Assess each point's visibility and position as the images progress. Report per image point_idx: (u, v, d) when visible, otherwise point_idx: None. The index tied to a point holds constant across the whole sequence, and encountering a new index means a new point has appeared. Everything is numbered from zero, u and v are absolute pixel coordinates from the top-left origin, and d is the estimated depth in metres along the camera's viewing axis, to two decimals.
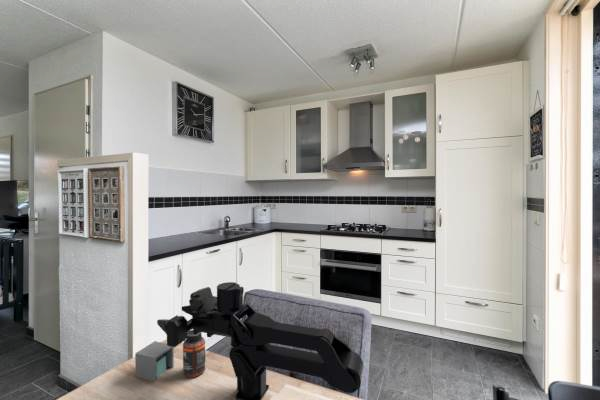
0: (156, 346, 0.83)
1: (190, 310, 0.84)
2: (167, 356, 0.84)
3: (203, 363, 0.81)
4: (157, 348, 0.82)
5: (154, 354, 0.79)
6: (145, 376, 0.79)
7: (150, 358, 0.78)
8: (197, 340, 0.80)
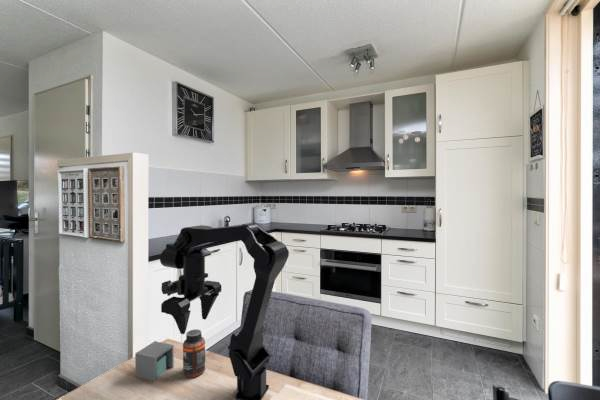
0: (156, 346, 0.83)
1: (204, 309, 0.86)
2: (167, 356, 0.84)
3: (203, 363, 0.81)
4: (157, 348, 0.82)
5: (154, 354, 0.79)
6: (145, 376, 0.79)
7: (150, 358, 0.78)
8: (197, 340, 0.80)
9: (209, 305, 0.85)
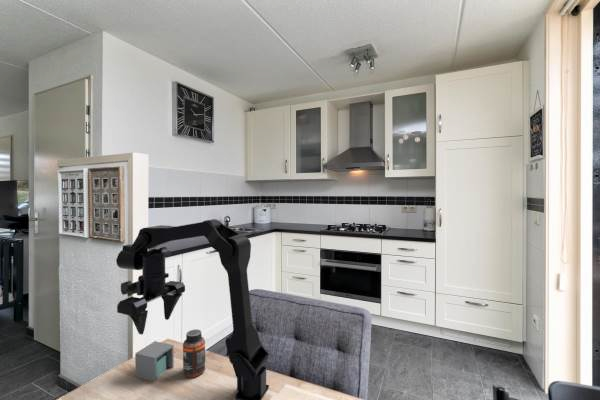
0: (156, 346, 0.83)
1: (167, 309, 0.86)
2: (167, 356, 0.84)
3: (203, 363, 0.81)
4: (157, 348, 0.82)
5: (154, 354, 0.79)
6: (145, 376, 0.79)
7: (150, 358, 0.78)
8: (197, 340, 0.80)
9: (171, 305, 0.85)
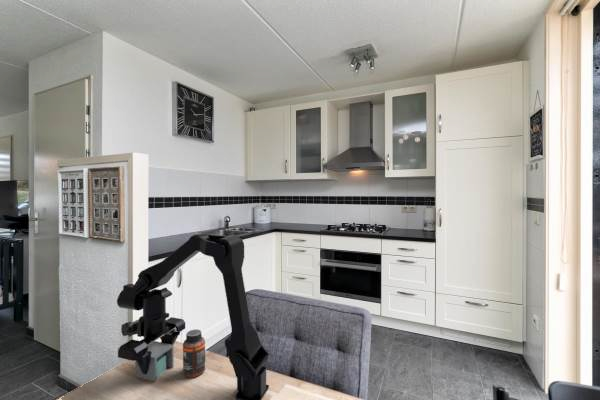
0: (156, 346, 0.83)
1: None
2: (167, 356, 0.84)
3: (203, 363, 0.81)
4: (157, 348, 0.82)
5: (154, 354, 0.79)
6: (145, 376, 0.79)
7: (150, 358, 0.78)
8: (197, 340, 0.80)
9: None
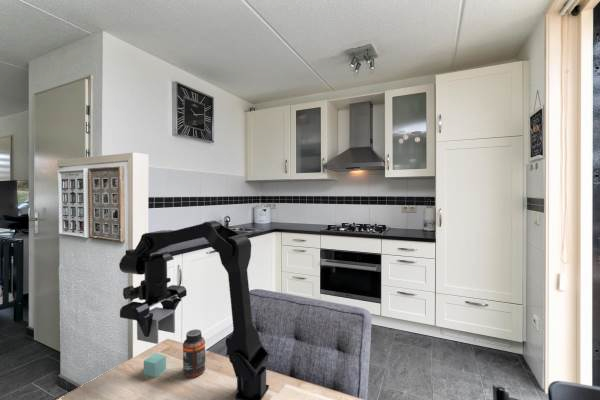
0: (158, 311, 0.83)
1: None
2: (169, 321, 0.84)
3: (203, 363, 0.81)
4: (158, 313, 0.82)
5: (156, 317, 0.79)
6: (147, 339, 0.79)
7: (152, 320, 0.78)
8: (197, 340, 0.80)
9: None
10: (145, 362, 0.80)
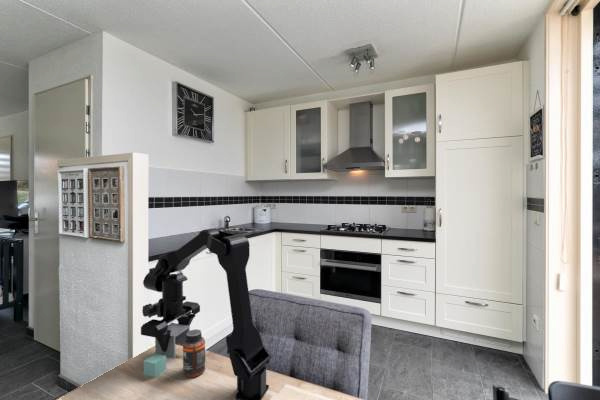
0: (174, 327, 0.90)
1: None
2: (184, 336, 0.91)
3: (203, 363, 0.81)
4: (175, 328, 0.88)
5: (173, 333, 0.86)
6: (165, 353, 0.85)
7: None
8: (197, 340, 0.80)
9: None
10: (145, 362, 0.80)
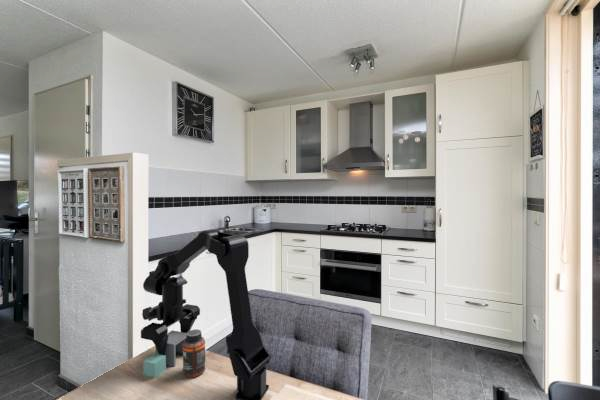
0: (174, 334, 0.90)
1: (183, 332, 0.93)
2: None
3: (203, 363, 0.81)
4: (175, 336, 0.89)
5: (173, 341, 0.86)
6: None
7: (169, 345, 0.85)
8: (197, 340, 0.80)
9: (187, 328, 0.92)
10: (145, 362, 0.80)
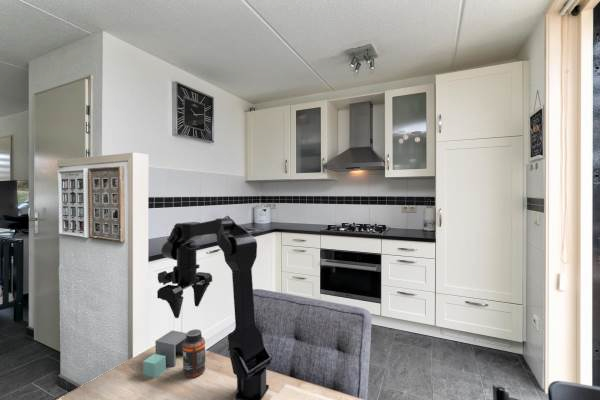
0: (174, 334, 0.90)
1: (197, 297, 0.96)
2: None
3: (203, 363, 0.81)
4: (175, 336, 0.89)
5: (173, 341, 0.86)
6: None
7: (169, 345, 0.85)
8: (197, 340, 0.80)
9: (201, 293, 0.95)
10: (144, 362, 0.80)
